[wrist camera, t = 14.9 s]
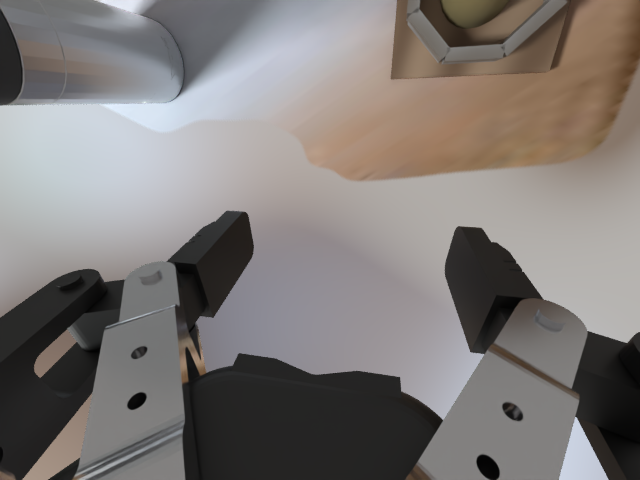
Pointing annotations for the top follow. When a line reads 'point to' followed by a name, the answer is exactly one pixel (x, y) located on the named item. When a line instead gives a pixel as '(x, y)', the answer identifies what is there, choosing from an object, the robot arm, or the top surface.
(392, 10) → the top surface
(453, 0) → the cork
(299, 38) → the top surface
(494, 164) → the top surface
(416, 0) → the socket base
